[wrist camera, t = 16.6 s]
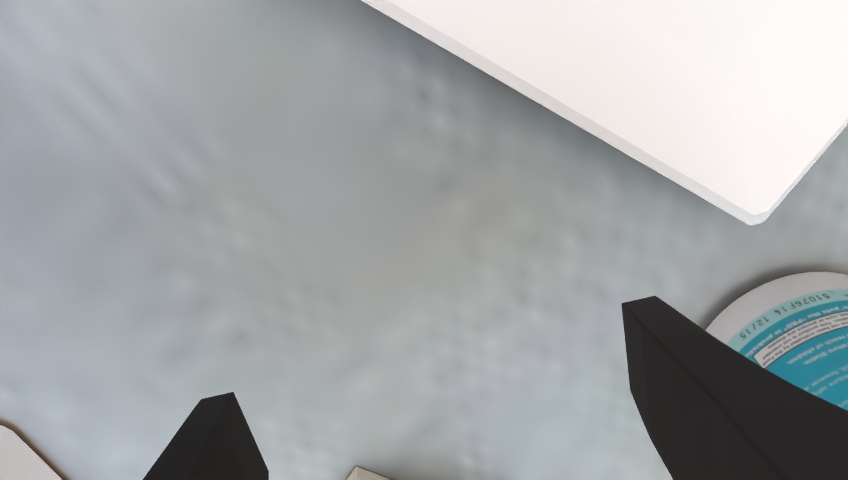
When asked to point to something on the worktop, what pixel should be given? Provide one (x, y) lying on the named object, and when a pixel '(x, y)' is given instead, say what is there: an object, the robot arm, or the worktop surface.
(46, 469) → the cup
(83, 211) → the worktop surface
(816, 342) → the pill bottle
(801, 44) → the plate
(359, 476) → the beige block
